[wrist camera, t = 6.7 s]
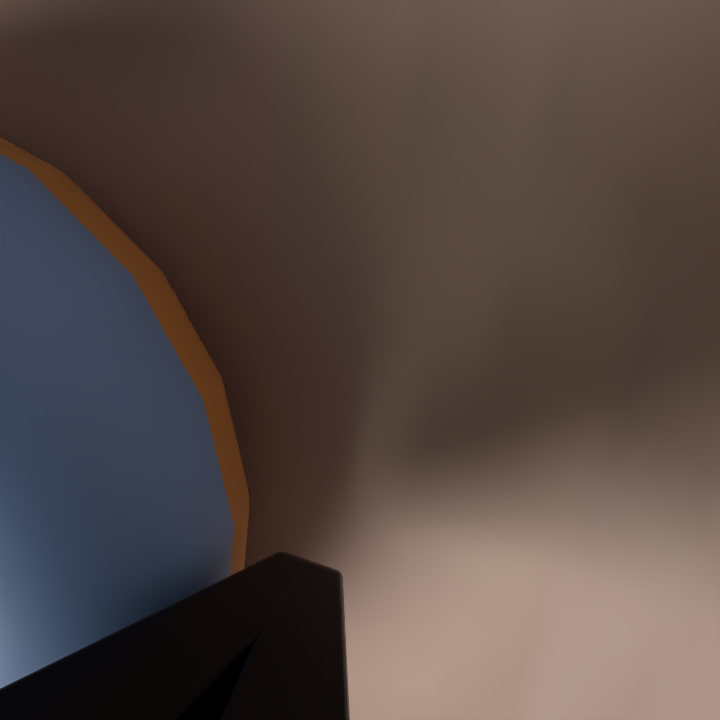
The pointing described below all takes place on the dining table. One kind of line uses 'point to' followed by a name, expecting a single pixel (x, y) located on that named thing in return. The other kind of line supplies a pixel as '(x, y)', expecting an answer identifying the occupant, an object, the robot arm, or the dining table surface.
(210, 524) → the doughnut
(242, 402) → the dining table surface
